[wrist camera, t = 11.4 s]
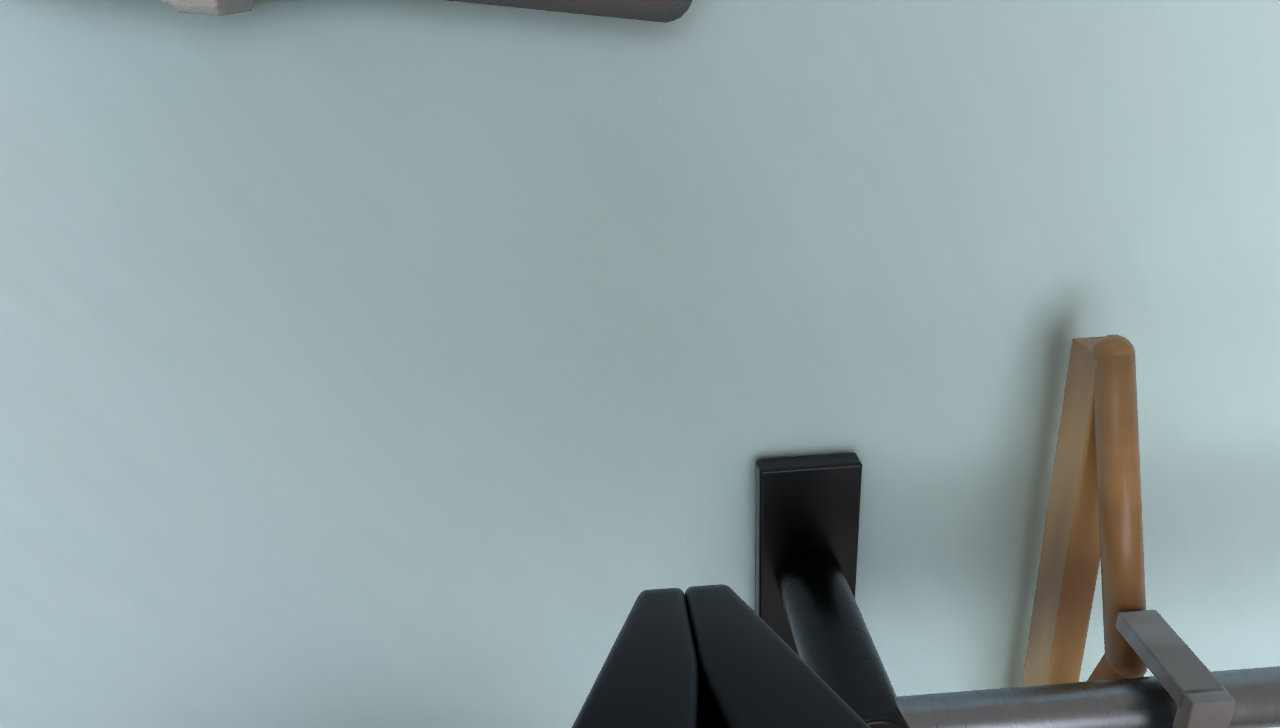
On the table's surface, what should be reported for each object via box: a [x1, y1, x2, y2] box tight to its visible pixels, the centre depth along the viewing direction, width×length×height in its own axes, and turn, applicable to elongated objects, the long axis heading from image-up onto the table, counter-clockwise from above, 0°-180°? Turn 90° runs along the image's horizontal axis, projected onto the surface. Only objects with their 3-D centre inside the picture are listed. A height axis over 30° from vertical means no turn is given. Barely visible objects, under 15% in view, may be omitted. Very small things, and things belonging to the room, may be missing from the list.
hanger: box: [1022, 335, 1235, 728], centre depth 20 cm, size 13×1×6 cm, turn 3°
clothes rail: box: [755, 453, 1280, 728], centre depth 21 cm, size 6×20×6 cm, turn 93°
